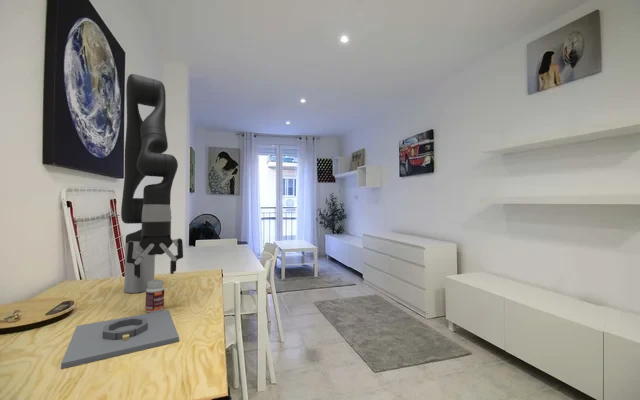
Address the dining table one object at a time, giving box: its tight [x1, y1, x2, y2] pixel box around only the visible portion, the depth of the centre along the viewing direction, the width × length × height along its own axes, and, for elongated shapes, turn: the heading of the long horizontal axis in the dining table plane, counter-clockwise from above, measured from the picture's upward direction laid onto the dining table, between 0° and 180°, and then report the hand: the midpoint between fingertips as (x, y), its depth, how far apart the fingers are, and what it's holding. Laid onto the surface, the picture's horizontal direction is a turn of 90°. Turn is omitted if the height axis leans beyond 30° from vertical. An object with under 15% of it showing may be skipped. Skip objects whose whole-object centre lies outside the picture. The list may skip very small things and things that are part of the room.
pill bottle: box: [144, 279, 165, 313], centre depth 83 cm, size 5×5×8 cm
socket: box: [60, 309, 180, 369], centre depth 67 cm, size 20×20×2 cm
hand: (155, 275), depth 83 cm, fingers open, 8 cm apart
